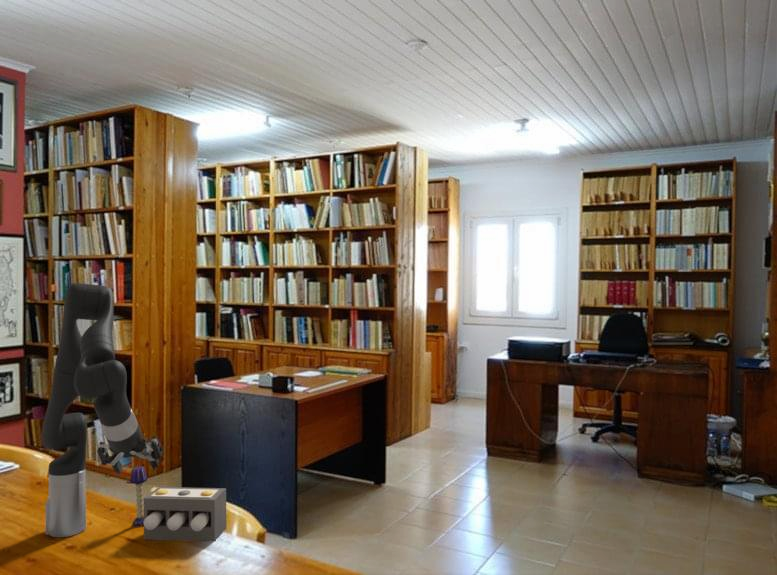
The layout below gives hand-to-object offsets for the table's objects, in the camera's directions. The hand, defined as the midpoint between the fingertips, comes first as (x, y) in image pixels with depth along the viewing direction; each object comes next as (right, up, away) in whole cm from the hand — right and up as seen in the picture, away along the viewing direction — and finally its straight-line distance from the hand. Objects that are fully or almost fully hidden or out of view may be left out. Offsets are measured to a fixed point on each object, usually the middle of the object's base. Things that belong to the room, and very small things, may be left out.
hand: (137, 468), depth 151 cm
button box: (+7, -23, +16) cm, 29 cm away
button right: (+13, -19, +10) cm, 25 cm away
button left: (0, -19, +11) cm, 22 cm away
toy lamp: (-9, -23, +22) cm, 33 cm away
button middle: (+7, -19, +11) cm, 23 cm away
